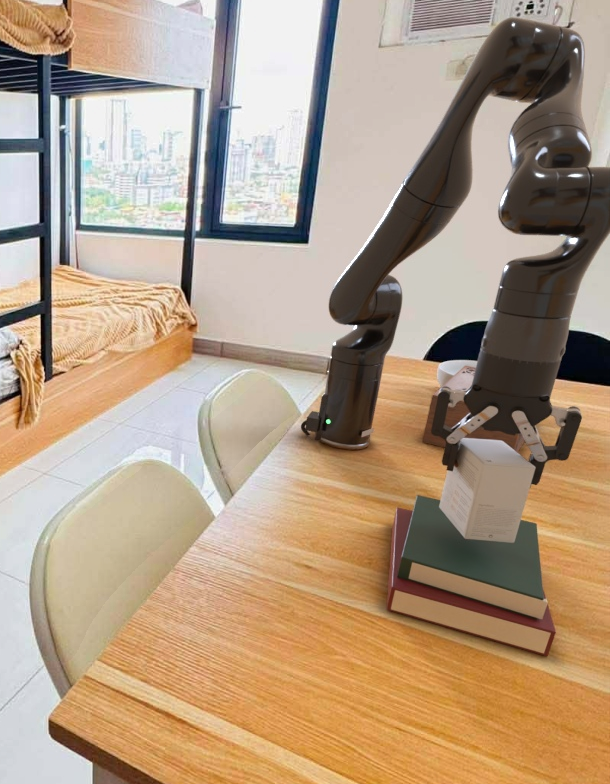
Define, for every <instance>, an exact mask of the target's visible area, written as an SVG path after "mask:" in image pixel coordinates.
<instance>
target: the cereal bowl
mask: <svg viewBox="0 0 610 784" xmlns="http://www.w3.org/2000/svg"><path fill="white" fill-rule="evenodd" d="M477 361H478V360H471V359H470V360H469V359H453V360H452V359H451V360H447V361H443V362H441V363H439V364H438V367H437V370H436V379H437V383H438V384H439V387H440V388H441V387H442V386H443V385H444V384H445V383H446V382H447V381H448V380H450V379H451V378H452V377H453V376H454V375H455V374H456V373H457V372H458V371H460V370H461V369H462V368H463V367H464V366H471V367H476V365H477Z"/></svg>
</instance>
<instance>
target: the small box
mask: <svg viewBox="0 0 610 784" xmlns="http://www.w3.org/2000/svg"><path fill="white" fill-rule="evenodd" d="M535 468H536V467H535V466H534V465H532V464H531V463H530V462H529V460H527V459H526V458H525V457H524V456H523V455H521V453H519V452H518V453H517V452H516V451H515V450H514V449H512V448H511V447H510V446H508V445H507V444H506V443H505V442H503V441H501V440H489V439H474V438H462V439H461V440H460V444H459V448H458V452H457V456H456V460H455V464H454V468H453V471H448V470H446V471H447V472H446V476H445V480H444V484H443V488H442V493H441V497H440V500H441V501H440V505H439V508H440V509H441V510H442V511H443V513H444V514H445V515H446V516H447V517H448V519H449V520H450V521H451V522H452V524H453V525H454V526H455V527H456V528H457V530H458V531H459V532H460V533H461V534H462V536H463V537H464V538H465V539H474V540H486V541H497V542H509V543H514V541H515V538H516V535H517V531H518V528H519V524H520V521H521V520H522V518H523V513H524V510H525V506H526V503H527V499H528V496H529V493H530V490H531V487H532V484H531V482H532V478H533V475H534V471H535ZM530 486H531V487H530Z"/></svg>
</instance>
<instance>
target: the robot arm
mask: <svg viewBox="0 0 610 784" xmlns="http://www.w3.org/2000/svg"><path fill="white" fill-rule="evenodd" d="M585 59H586V49H585V41H584V39H583V37H582V35H581V34H580V33H579V32H577V31H576V30H574V29H571V28H568V27H565V26H560V25H556V24H551V23H546V22H541V21H537V20H533V19H527V18H523V17H522V18H521V17H508V18H505V19H503V20H502V21H500V22H499V23H498V24H497V25H496V26H494V27H493V29H492V30H491V32H489V34H488V35H487V37H486V38H485V40H484V41H483V43H482V44H481V46H480V47H479V49H478V51H477V52H476V54H475V56H474V58H473V60H472V62H471V63H470V65H469V67H468V69H467V71H466V73H465V75H464V76H463V79H462V81H461V82H460V84H459V86H458V88H457V89H456V92H455V94H454V96H453V97H452V99H451V101H450V103H449V105H448V107H447V108H446V111H445V112H444V114H443V117H442V118H441V120H440V122H439V124H438V126H437V127H436V129H435V130H434V132H433V134H432V135H431V137H430V139H429V141H428V142H427V143H426V145H425V147H424V148H423V150H422V151H421V153H420V154H419V156H418V158H417V159H416V161H415V163H414V164H413V166H412V167H411V169H410V170H409V172H408V173H407V175H405V178H404V179H403V181H402V183H401V185H400V186H399V188H398V190H396V192H395V194H394V196H393V197H392V199H391V201H390V203H389V205H388V207H387V209H386V210H385V212H384V214H383V215H382V217H381V218H380V220H379V221H378V223H377V224H376V226H375V228H374V229H373V230H372V233H371V234H370V235H369V237H368V239H367V241H366V242H365V243H364V245H363V246H362V248H360V250H359V252H358V253H357V254H356V256H355V257H354V258H353V259H352V260H351V262H350V263H349V265H348V266H347V267H346V269H345V270H344V271H343V273H342V274H341V275H340V277H338V279H337V281H336V282H335V284H334V285H333V288H332V290H331V292H330V295H329V299H328V312H329V316H330V318H331V319H332V320H333V321H334V322H335V323H337V324H339V325H342V326H354V327H353V328H352V330H351V331H349V332H348V333H347V334H345V335H343V336H342V337H340V338H338V339H336V340H335V341H334V342H333V343H332V346H331V349H330V358H329V364H328V369H327V376H326V383H325V389H324V392H323V394H322V395H321V398H320V404H319V411H314V410H312V411H311V412H310V413H309V414H308V415H307V417H306V420H304V421H302V423H300V424H301V425H300V430H301V431H302V433H303V434H304V435H305V436H306V437H309V436H311V433H315V436H314V440H315V441H318V442H321V443H323V444H325V445H327V446H330V447H332V448H337V449H342V450H351V451H353V450H362V449H366V448H368V447H369V446H370V441H371V435H372V434H374V430H375V427H373V422H374V417H375V412H376V406H377V402H378V397H379V391H380V386H381V380H382V376H383V370H384V365H385V359H386V356H387V354H388V353H389V351H390V349H391V348H392V346H393V343H394V339H395V335H396V331H397V327H398V323H399V320H400V317H401V312H402V306H403V290H402V286H401V284H400V282H399V280H398V279H397V278H396V277H395V276H393V275H391V274H390V273H391V272H392V271H393V270H394V269H395V268H397V267H398V265H400V264H401V263H403V262H404V261H405V260H407V259H408V258H409V257H412V256H413V255H414V254H415V253H417V252H418V251H419V250H421V249H422V248H424V247H425V246H426V245H427V244H429V243H430V242H431V241H432V240H434V239H435V238H436V237H437V236H438V235H440V234H441V233H442V232H443V231H444V230H445V229H446V227H447V226H448V225H449V224H450V222H451V221H452V220H453V218H454V217H455V215H456V214H457V213H458V211H459V210H460V209H461V207H462V205H464V202H465V201H466V199H467V198H468V197H469V194H470V193H471V190H472V187H473V186H472V185H473V175H474V174H473V173H474V172H473V170H474V169H473V155H472V152H473V151H472V139H473V129H474V124H475V121H476V118H477V116H478V113H479V111H480V109H481V107H482V105H483V104H484V102H485V100H486V99H487V98H488V97H489V96H490V97H493V98H497V99H501V100H507V101H511V102H516V103H519V104H520V103H521V104H529V105H528V106H527V107H526V108H524V109H523V110H522V111H521V112H520V113H519V114H518V116H517V117H516V118H515V120H514V122H513V123H512V124H511V127H510V129H509V132H508V137H507V150H508V155H509V162H510V168H511V170H510V176H509V180H508V181H507V184H506V186H505V188H504V190H503V192H502V195H501V197H500V200H499V203H498V206H497V207H498V209H497V218H498V221H499V223H500V225H501V226H502V227H503V228H504V229H505V230H507V232H510V233H511V234H515V235H520V236H548V237H549V236H550V237H551V236H552V237H565V238H564V239H563V241H562V242H561V243H560V244H559V245H558V246H557V247H555V249H553V250H551V251H549V252H546V253H542V254H536V255H529V256H522V257H516V258H514V259H511V260H509V261H508V262H507V263H506V264H505V265H504V267H503V269H502V272H501V275H500V280H499V283H498V287H497V291H496V295H495V299H494V304H493V308H492V311H491V314H490V317H489V318H488V321H487V323H486V326H485V329H484V334H483V337H482V338H481V343H480V344H481V345H480V349H479V353H478V357H477V360H476V361H477V365H476V369H475V374H474V378H473V382H472V385H471V387H470V388H469V389H468V390H467V391H466V392H463V391H457V390H451V389H450V388H449V387H447V386H444V387H442V388H441V387H440V388H441V389H440V388H439V389H440V391H439V394H438V399H437V404H436V409H435V414H434V419H433V423H432V428H431V433H432V435H434V436H439V437H441V438H443V439H444V440H445V442H446V445H445V447H444V449H443V454H442V458H441V464H442V465H443V466H445V467H446V469H445V471H453V468H454V464H455V460H456V456H457V452H458V448H459V444H460V440H461V439H462V438H464V437H465V436H466V435H468V434H470V433H472V432H473V431H474V430H476V429H477V428H478V427H479V426H480V427H482V428H484V429H483V430H487V431H501V432H503V433H505V434H509V435H514V436H515V434H522V436H523V438H524V440H525V441H524V443H525V444H526V446H527V447H528V449H529V450H530V454H529V458H528V461H529V462H530V463H531V464H532V465H534V466H535V467H536V468H535V471H534V475H533V478H532V482H531V486H530V488H531V487H532V485H534V486H538V484H539V483H540V482H541V478H542V475H543V471H544V470H545V469H544V467H545V465H546V463H547V462H549V461H552V460H553V461H554V460H558V461H562V462H564V461H567V460H568V459H569V458H570V455H571V452H572V449H573V446H574V443H575V440H576V437H577V434H578V431H579V429H580V427H581V426H580V425H581V423H582V419H583V416H582V412H581V409H580V408H579V407H578V406H568V407H561V406H556V405H552V403H551V396H552V392H553V389H554V386H555V381H556V379H557V376H558V373H559V369H560V366H561V361H562V358H563V356H564V354H565V353H566V350H567V349H566V345H567V341H568V337H569V332H570V323H571V317H572V313H573V311H574V306H575V303H576V300H577V296H578V293H579V290H580V287H581V283H582V281H583V279H584V276H585V274H586V272H587V271H588V269H589V267H590V265H591V264H592V262H593V261H594V259H595V257H596V255H597V253H598V252H599V250H600V249H601V247H602V246H603V244H604V242H605V241H606V239H608V237H609V236H610V166H590V164H591V162H592V157H593V149H592V144H591V141H590V138H589V134H588V131H587V128H586V123H585V121H584V118H583V117H584V116H583V111H582V96H583V89H584V80H585V79H584V78H585V77H584V76H585V61H586V60H585ZM459 401H464V403H465V405H466V406H467V408H468V410H469V411H470V413H469V414H468V415H467V416H465V417H464V418H463V419H462V420H461V421H460V422H459V423H458V424H457V425H455V426H454V427H453V428H450V427H448V426H446V425H444V424H445V419H446V414H447V409H448V407H449V408H452V407H455V406H456V404H457V402H459ZM550 416H551V417H553V418H554V419H555V420H554V421H555V424H556V426H558V428H560V429H559V431H558V435H557V437H556V441H555V444H554V445H545V443H544V441H543V439H542V437H541V434H540V433H539V430H538V428H537V425H539V424H540V423H542V422H544V420H546V419H547V418H550ZM310 432H311V433H310Z"/></svg>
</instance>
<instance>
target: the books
mask: <svg viewBox="0 0 610 784" xmlns="http://www.w3.org/2000/svg"><path fill="white" fill-rule="evenodd" d="M440 501H441V499H436V498H433V497H429V496H426V495H425V496H424V495H421V494H416V497H415V501H414V505H413V509H412V510H411V509H407V508H402V507H398V506H397V507H396V508H395V512H394V518H393V522H392V530H391V540H390V541H391V543H390V555H389V571H388V583H387V584H388V585H387V598H386V599H387V600H386V611H389V612H392V613H396V614H399V615H403V616H406V617H409V618H413V619H415V620H416V619H417V620H421V621H423V622H427V623H430V624H433V625H437V626H441V627H444V628H447V629H451V630H454V631H458V632H460V633H461V632H462V633H464V634H468V635H472V636H475V637H478V638H482V639H486V640H489V641H493V642H496V643H499V644H503V645H506V646H510V647H513V648H516V649H520V650H523V651H527V652H529V653H532V654H533V653H534V654H537V655H541V656H544V657H549V653H550V650H551V647H552V645H553V642H554V639H555V637H556V634H557V631H556V627H555V624H554V621H553V617H552V613H551V611H550V608H549V607H550V606H549V604H548V603H549V600H548V599H547V596H546V593H545V590H544V587H543V575H542V567H541V564H542V563H541V555H540V546H539V533H538V526H537V525H538V524H537V523H536V522H532V521H529V520H524V519H521V521H520V524H519V528H518V531H517V535H516V538H515V541H514V543H509V542H497V541H486V540H474V539H465V538H464V537H463V536H462V534H461V533H460V532H459V531H458V530H457V528H456V527H455V526H454V525H453V524H452V522H451V521H450V520H449V519H448V517H447V516H446V515H445V514H444V513H443V511H442V510H441V509H440V508H439V505H440Z"/></svg>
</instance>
